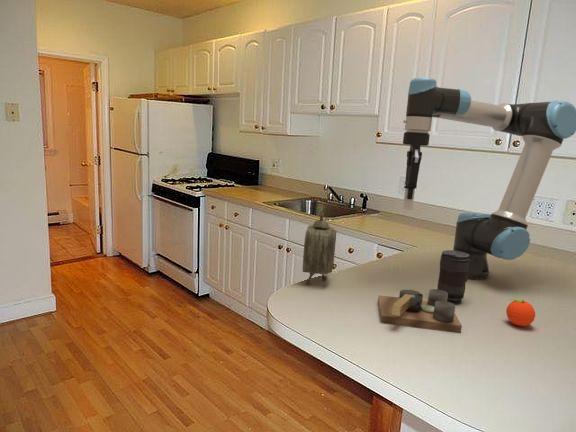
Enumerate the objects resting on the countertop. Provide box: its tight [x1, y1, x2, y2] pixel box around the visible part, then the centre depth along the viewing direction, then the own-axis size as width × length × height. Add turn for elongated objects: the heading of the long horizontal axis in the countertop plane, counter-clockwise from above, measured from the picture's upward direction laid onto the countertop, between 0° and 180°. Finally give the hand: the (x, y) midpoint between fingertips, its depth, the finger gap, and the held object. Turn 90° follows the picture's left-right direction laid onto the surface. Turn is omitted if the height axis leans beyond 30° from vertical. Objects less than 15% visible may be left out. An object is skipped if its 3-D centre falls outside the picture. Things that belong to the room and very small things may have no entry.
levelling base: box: [377, 288, 463, 334], centre depth 115 cm, size 20×15×6 cm
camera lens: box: [436, 249, 469, 305], centre depth 128 cm, size 8×8×15 cm
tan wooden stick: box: [392, 289, 424, 316], centre depth 112 cm, size 15×6×4 cm, turn 147°
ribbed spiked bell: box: [302, 205, 337, 286], centre depth 137 cm, size 14×9×25 cm, turn 170°
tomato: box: [505, 298, 536, 327], centre depth 114 cm, size 8×7×7 cm
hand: (407, 209), depth 131 cm, fingers closed
